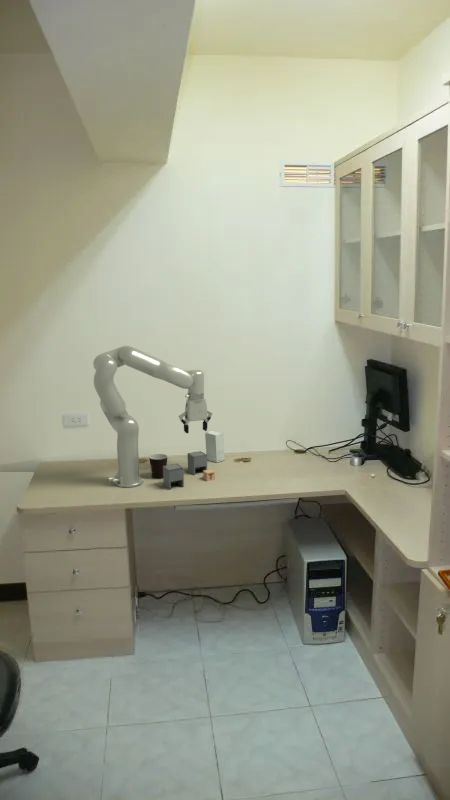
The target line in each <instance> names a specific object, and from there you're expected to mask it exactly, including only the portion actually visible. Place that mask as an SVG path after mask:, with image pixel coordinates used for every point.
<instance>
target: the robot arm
mask: <svg viewBox="0 0 450 800" xmlns="http://www.w3.org/2000/svg"><path fill="white" fill-rule="evenodd" d="M92 365H93V368H94V370H95V372H94V377H93V387H94V389H95V392H96V394H97V395H98V398H99V401H100V402H99V405H100V408H101V411H102V412H103V414H104V416H105V417H106V419H107V421H108V423H109V425H110V426H111V428H112V429H113V430H114V431H115V432H116V433H117V434H116V435H117V436H116V437H117V438H116V439H117V440H116V452H117V470H118V471H117V473H116V475H114V476H110V477H107V481H108V482H110V483H111V482H112V483H115V486H118V487H121V488H134V487H138V486H140V485H142V484H144V479H143V477H140V457H139V432H140V427H139V423H138V421H137V419H135V418H134V417H133V416H131V415H130V414H129V413H128V411H127V406H126V402H125V400H124V399H123V397H122V395H121V393H120V392H119V390H118V388H117V386H116V384H115V382H114V378H115V374H116V372H117V370H118V368H120V367H123V366H125V365H126V366H127V367H129V368H132V369H134V370H136V371H138V372H141V373H143V374H146V375H149V376H150V377H152V378H155V379H158V380H161V381H164V382H167V383H169V384H172V385H173V386H176V387H178V388H181V389H183V390H186V389H187V394H185V396H184V398H187V399H186V401H185V406H184V412H183V413H181V414H179V415H178V418H179V420H180V422H181V423H182V425H183V431H184V433H186V434H189V427H190V425H189V423H190V422H199V421H203V422H202V430H203V431H205V432H208V424H209V422H210V420H211V419H212V416H213V412H211V411H209V410H208V407H207V400H206V398H205V397H204V396H205V371H203V370H200V369H190V370H184V369H183V370H182V369H180V368H178V367H176V366H173V365H172V364H169V363H167V362H166V361H164V360H162V359H160V358H157V357H156V356H154V355H151V354H149V353H147V352H145V351H142V350H140V349H137V348H135V347H133V346H129V345H124V346H120V347H117V348H114V349H112V350H108V351H105V352H103V353H100V354H98V355H97V356H95V358H94V359H93V364H92Z"/></svg>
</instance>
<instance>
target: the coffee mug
mask: <svg viewBox="0 0 450 800" xmlns="http://www.w3.org/2000/svg"><path fill="white" fill-rule="evenodd" d="M148 459H149V460H148V461H149V466H150V473H151V478H153V479H154V480H163V466H166V465H168V454H164V453H156V454H151V455H149V456H148Z"/></svg>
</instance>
